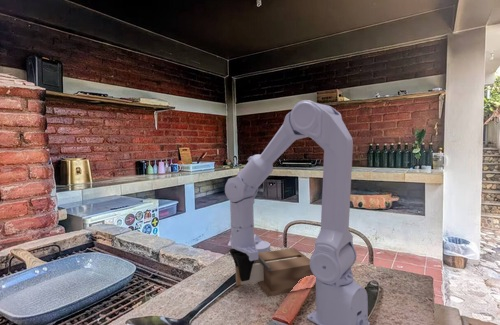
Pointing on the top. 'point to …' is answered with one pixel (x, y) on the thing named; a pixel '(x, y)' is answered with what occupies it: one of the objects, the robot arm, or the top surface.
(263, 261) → the dispenser
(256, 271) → the cream wooden plank
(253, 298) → the top surface
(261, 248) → the wedge on round base
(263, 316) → the top surface
